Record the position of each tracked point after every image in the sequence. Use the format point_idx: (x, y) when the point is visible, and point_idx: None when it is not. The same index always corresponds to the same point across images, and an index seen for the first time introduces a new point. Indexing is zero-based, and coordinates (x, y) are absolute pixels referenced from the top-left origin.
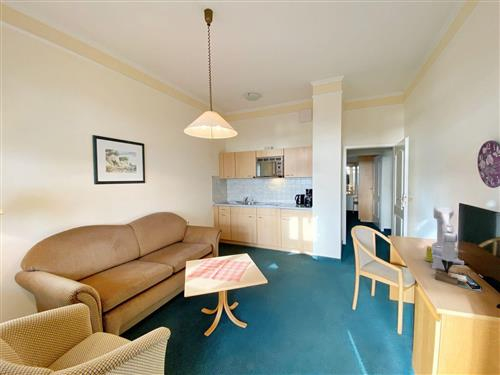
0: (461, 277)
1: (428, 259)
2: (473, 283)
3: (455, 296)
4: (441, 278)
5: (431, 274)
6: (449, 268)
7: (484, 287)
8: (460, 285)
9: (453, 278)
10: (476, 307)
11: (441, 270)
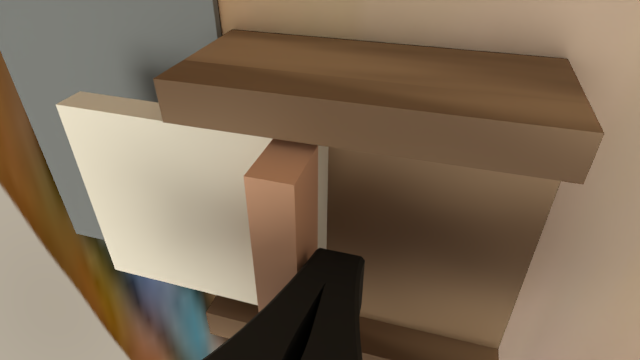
0: (139, 199)
1: None
2: None
3: None
4: (456, 70)
5: (563, 262)
6: (243, 329)
7: (31, 182)
8: (190, 43)
9: (233, 77)
10: None
11: (410, 349)
